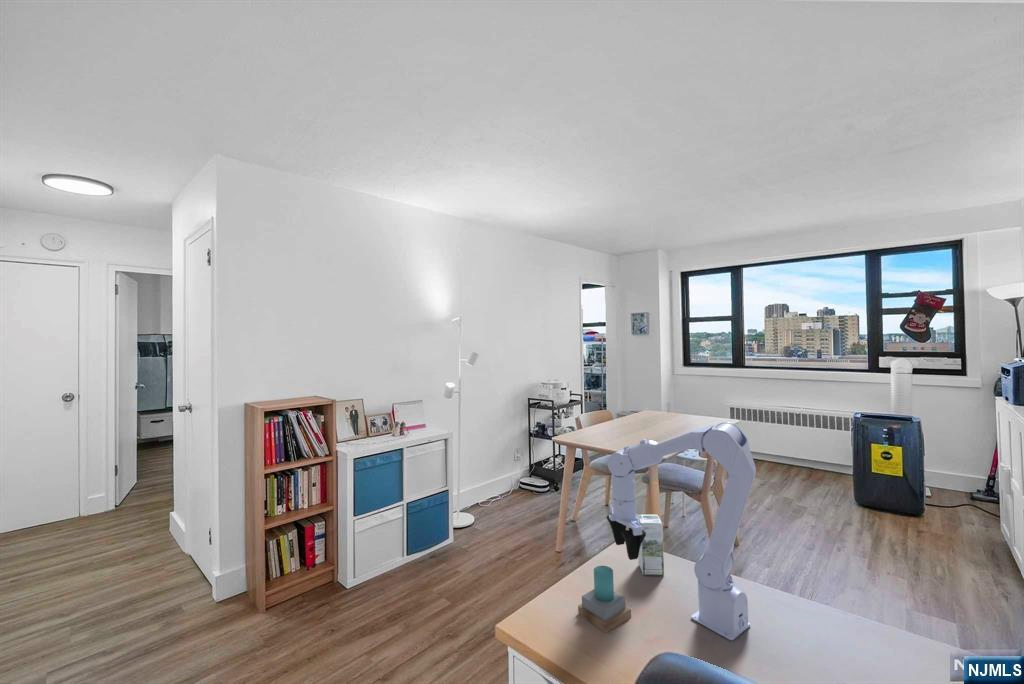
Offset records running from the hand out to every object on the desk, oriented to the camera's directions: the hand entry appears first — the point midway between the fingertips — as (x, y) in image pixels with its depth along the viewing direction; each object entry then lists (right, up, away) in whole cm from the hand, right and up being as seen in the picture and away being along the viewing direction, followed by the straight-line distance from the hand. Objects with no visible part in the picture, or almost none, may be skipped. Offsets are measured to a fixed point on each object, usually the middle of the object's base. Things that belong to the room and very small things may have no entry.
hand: (626, 551), depth 109 cm
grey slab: (-8, -9, -9) cm, 15 cm away
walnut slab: (-7, -11, -9) cm, 16 cm away
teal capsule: (-8, -6, -9) cm, 13 cm away
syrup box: (+9, -10, +9) cm, 16 cm away
